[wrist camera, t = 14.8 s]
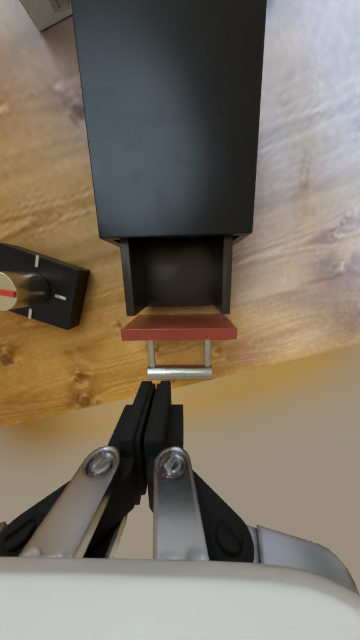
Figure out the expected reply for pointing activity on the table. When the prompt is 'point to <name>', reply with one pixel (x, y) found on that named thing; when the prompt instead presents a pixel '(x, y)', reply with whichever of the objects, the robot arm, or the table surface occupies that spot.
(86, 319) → the table surface
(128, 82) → the small drawer unit
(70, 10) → the coffee box
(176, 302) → the red drawer with handle
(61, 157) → the table surface
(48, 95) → the table surface
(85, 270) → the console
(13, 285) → the dial
